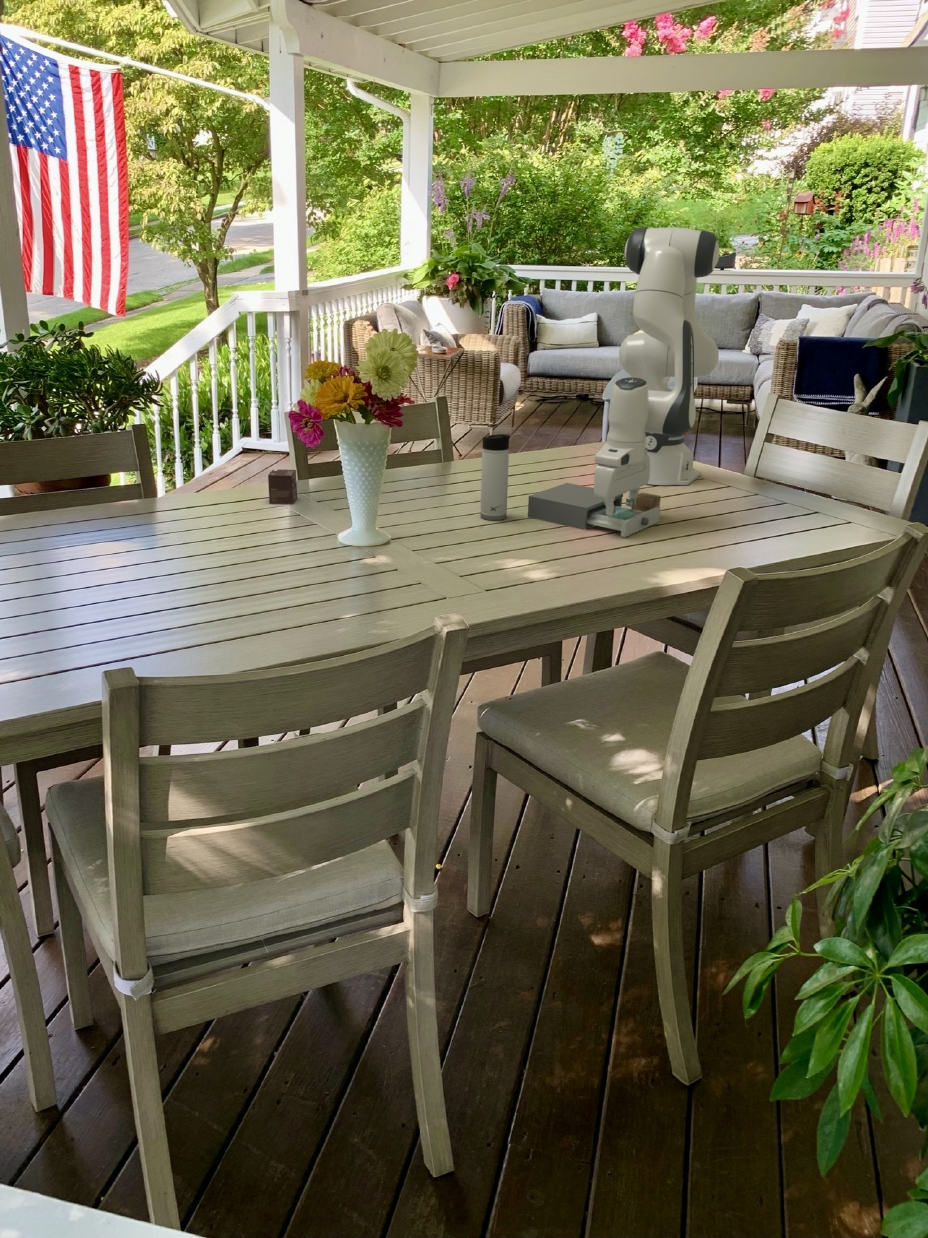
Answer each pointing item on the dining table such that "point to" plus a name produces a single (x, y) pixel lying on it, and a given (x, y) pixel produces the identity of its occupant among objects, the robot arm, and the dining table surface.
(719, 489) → the dining table surface
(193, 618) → the dining table surface
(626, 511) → the teal flat dome
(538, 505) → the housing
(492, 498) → the travel mug
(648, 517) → the light grey drawer
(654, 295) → the robot arm
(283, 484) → the box
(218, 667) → the dining table surface
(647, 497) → the brown wooden cube
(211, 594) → the dining table surface
